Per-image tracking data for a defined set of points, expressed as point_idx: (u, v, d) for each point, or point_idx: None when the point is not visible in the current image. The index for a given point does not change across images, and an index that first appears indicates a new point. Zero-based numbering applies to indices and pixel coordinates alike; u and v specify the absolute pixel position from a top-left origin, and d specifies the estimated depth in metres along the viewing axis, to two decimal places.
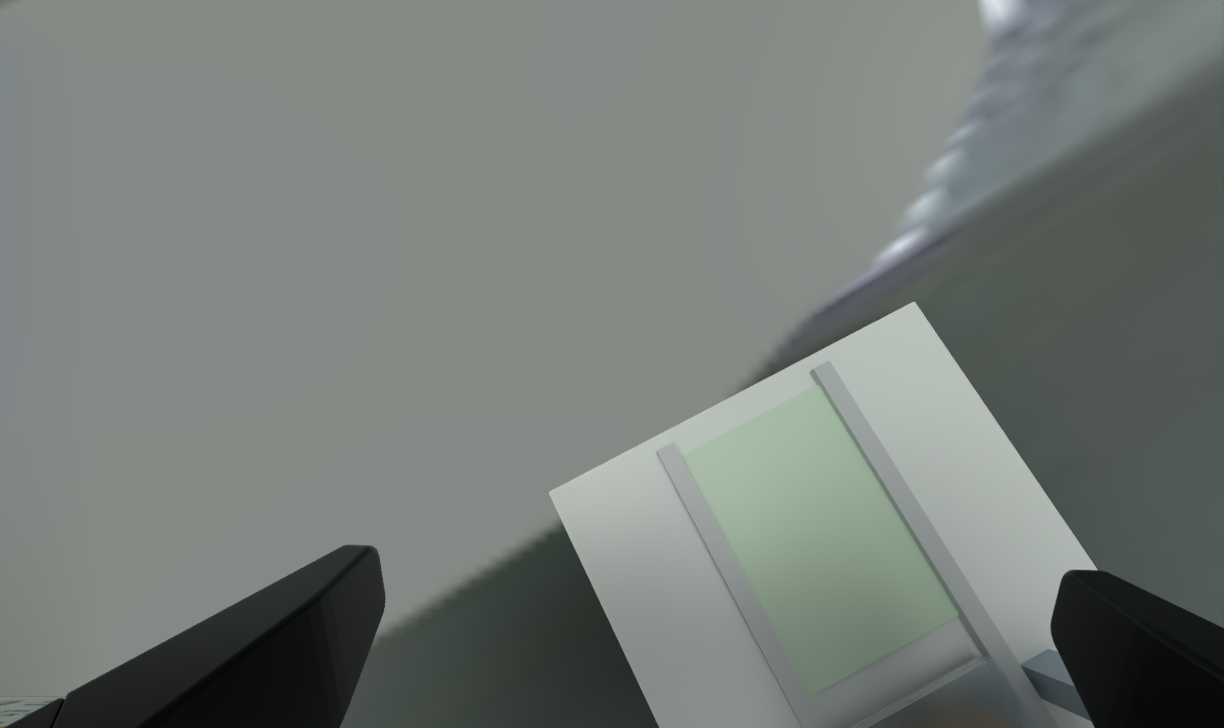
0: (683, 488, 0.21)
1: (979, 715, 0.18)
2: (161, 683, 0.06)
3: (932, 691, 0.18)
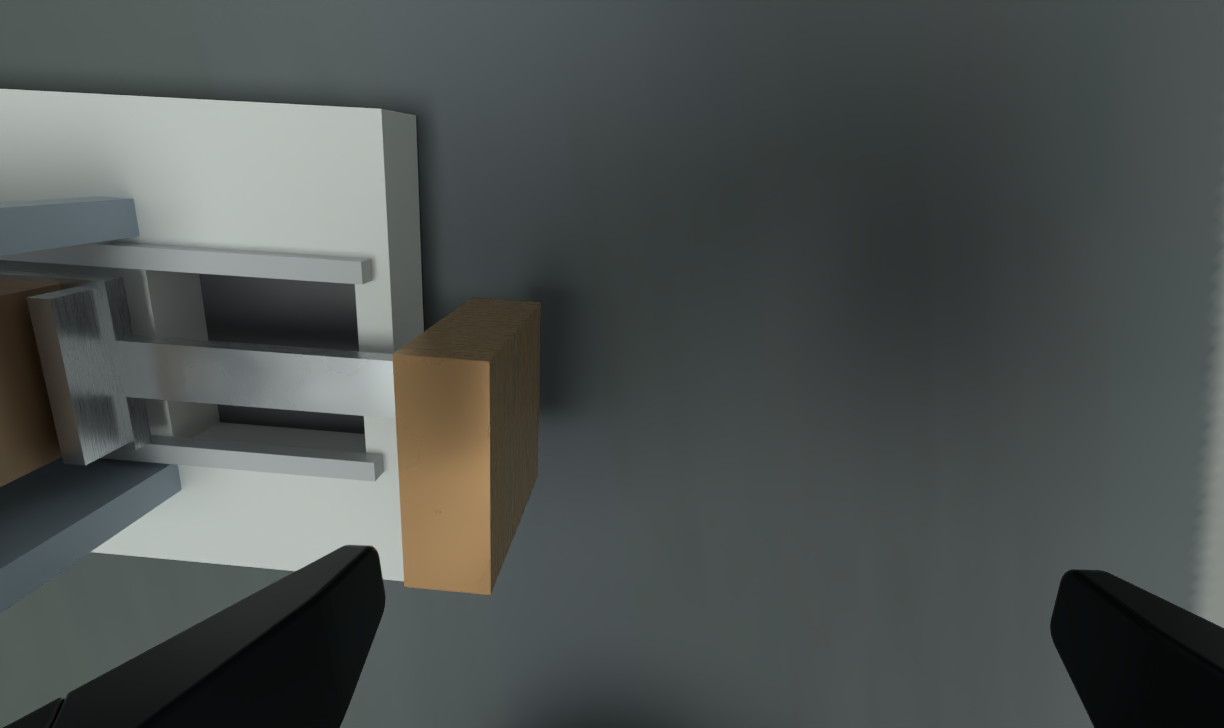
0: None
1: None
2: (161, 683, 0.06)
3: None
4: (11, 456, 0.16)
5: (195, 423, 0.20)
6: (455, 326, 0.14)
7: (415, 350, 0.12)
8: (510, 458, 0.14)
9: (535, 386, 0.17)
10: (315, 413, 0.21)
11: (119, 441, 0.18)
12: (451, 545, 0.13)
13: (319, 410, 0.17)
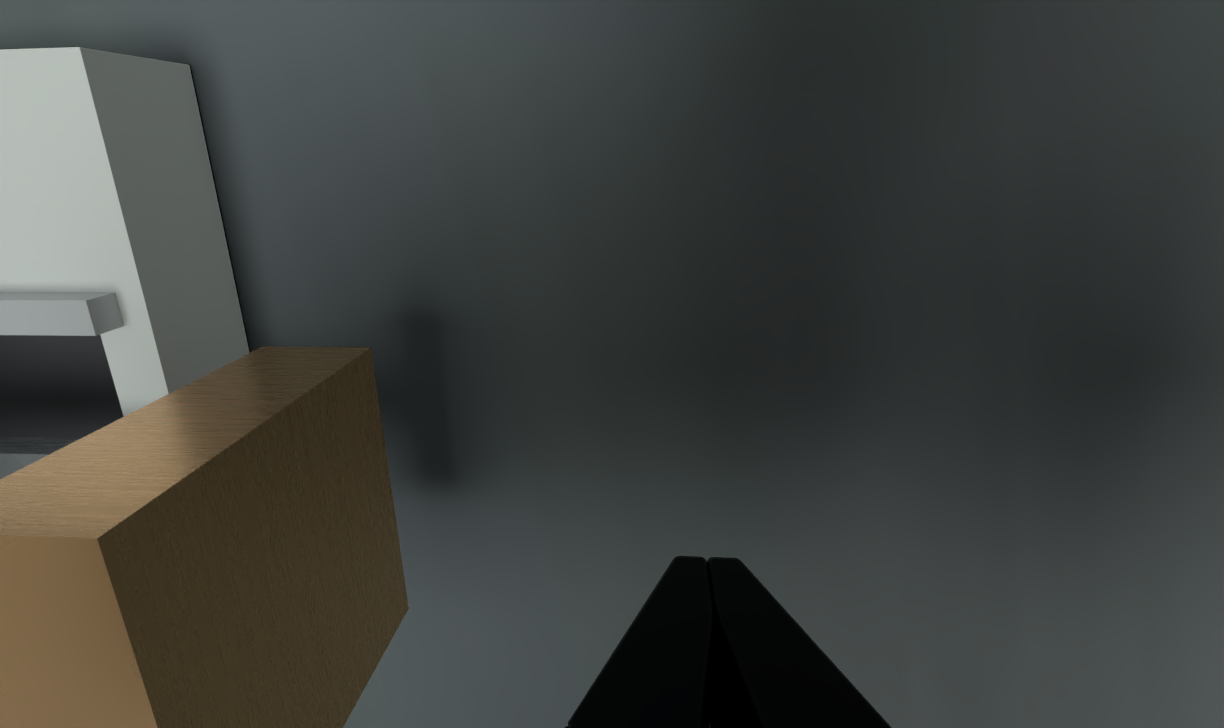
0: None
1: None
2: (661, 710, 0.05)
3: None
4: None
5: None
6: (150, 423, 0.07)
7: None
8: (280, 650, 0.08)
9: (373, 483, 0.10)
10: None
11: None
12: None
13: None
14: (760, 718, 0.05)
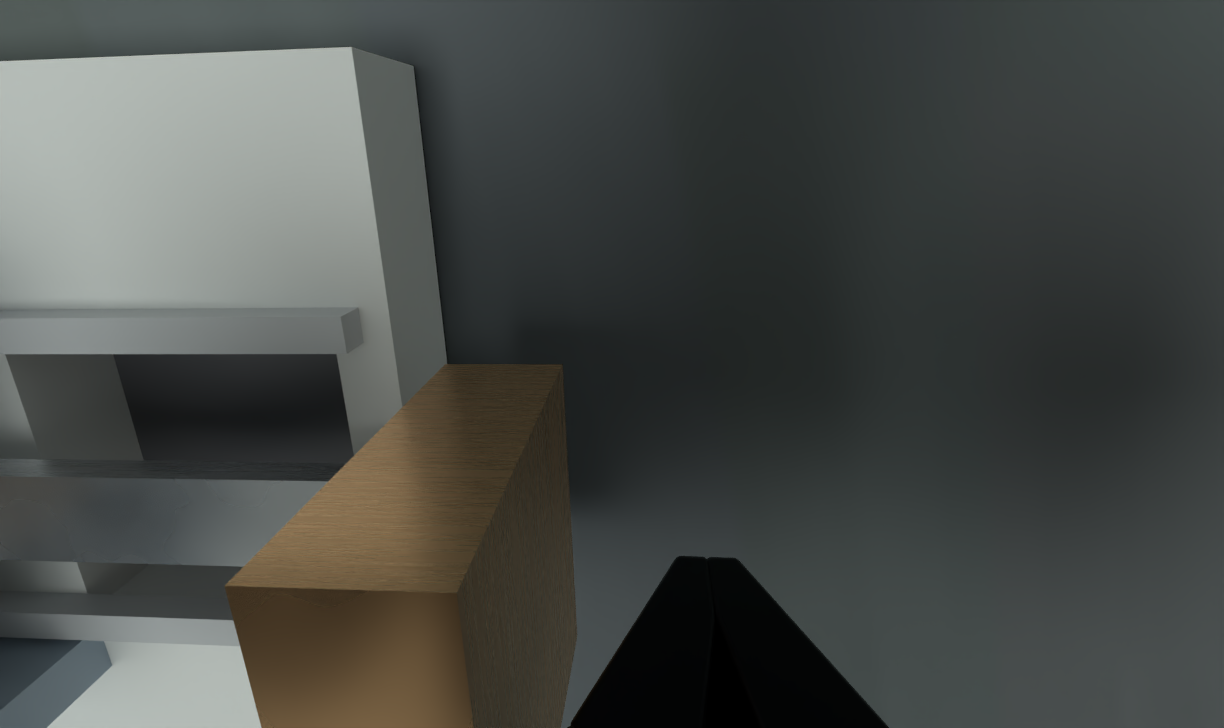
0: None
1: None
2: (664, 710, 0.05)
3: None
4: None
5: None
6: (400, 452, 0.07)
7: (287, 560, 0.05)
8: (529, 694, 0.07)
9: (564, 508, 0.10)
10: None
11: None
12: None
13: (214, 562, 0.11)
14: (757, 718, 0.05)
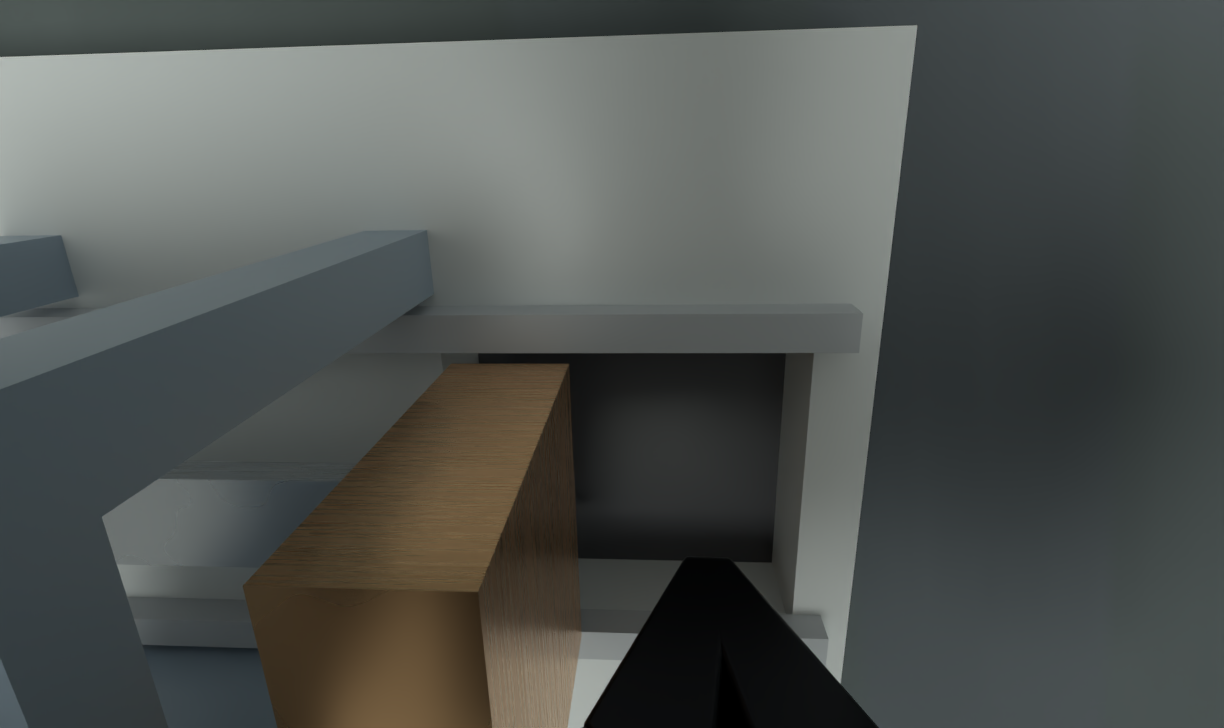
0: None
1: None
2: (677, 710, 0.05)
3: None
4: None
5: None
6: (411, 452, 0.07)
7: (304, 560, 0.05)
8: (540, 694, 0.07)
9: (570, 507, 0.10)
10: (648, 536, 0.14)
11: None
12: None
13: (217, 563, 0.11)
14: (747, 718, 0.05)
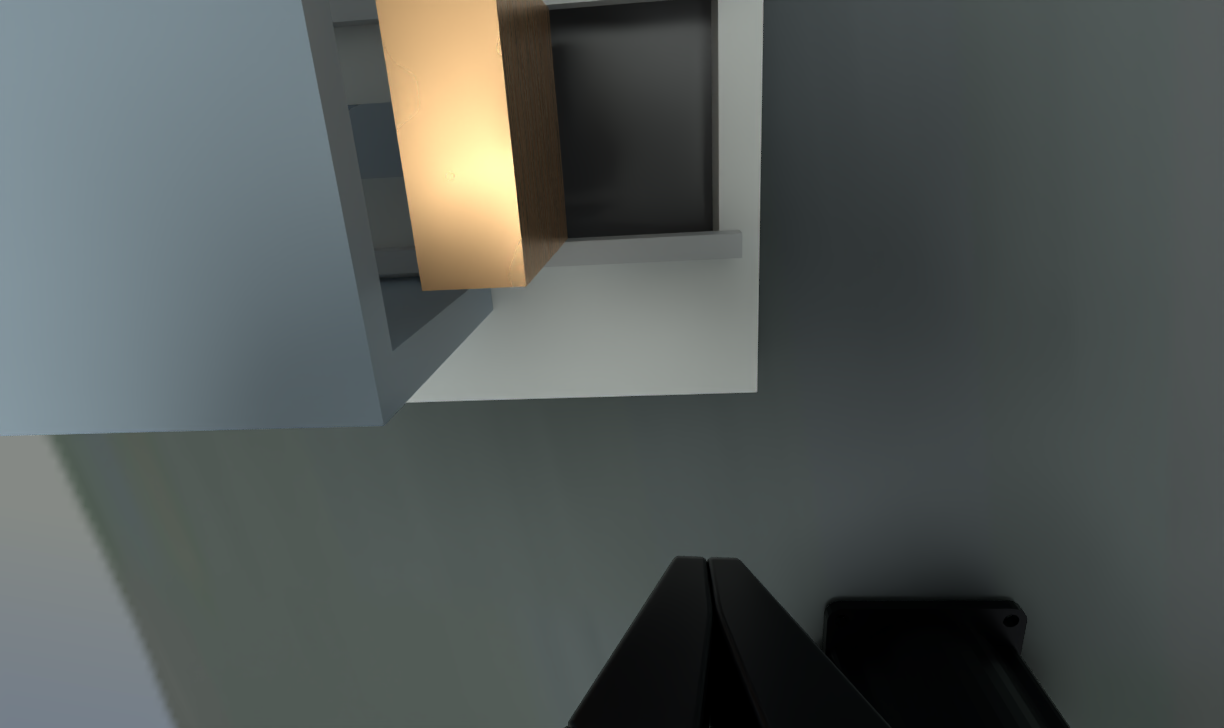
0: None
1: None
2: (661, 710, 0.05)
3: None
4: None
5: None
6: None
7: None
8: (532, 145, 0.12)
9: (553, 110, 0.14)
10: (618, 218, 0.18)
11: None
12: (471, 223, 0.11)
13: None
14: (760, 718, 0.05)
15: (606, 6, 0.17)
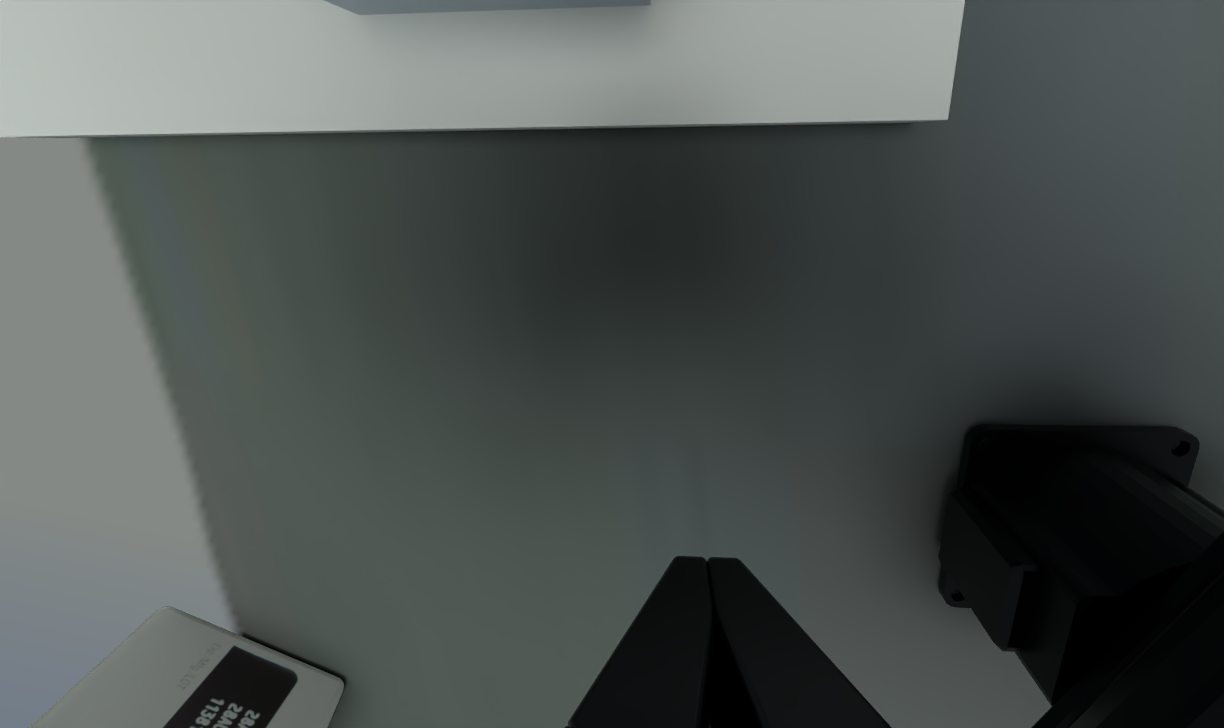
0: None
1: None
2: (661, 709, 0.05)
3: None
4: None
5: None
6: None
7: None
8: None
9: None
10: None
11: None
12: None
13: None
14: (760, 718, 0.05)
15: None
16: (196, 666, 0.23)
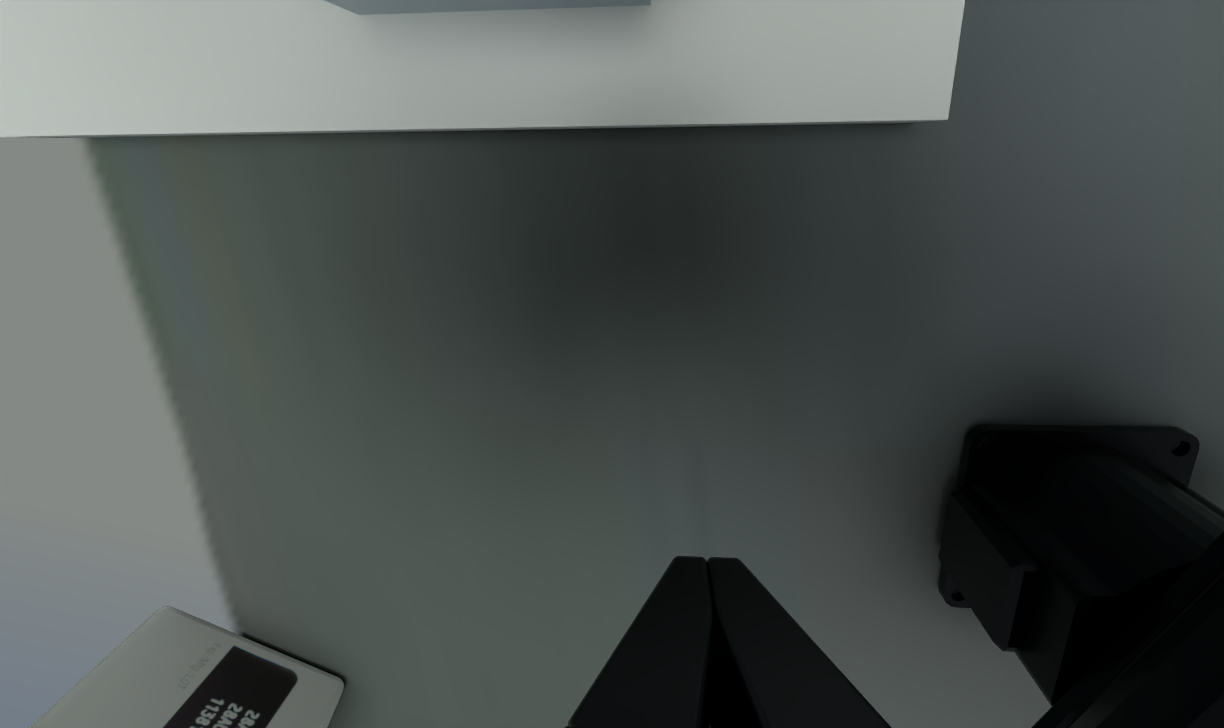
0: None
1: None
2: (661, 710, 0.05)
3: None
4: None
5: None
6: None
7: None
8: None
9: None
10: None
11: None
12: None
13: None
14: (760, 718, 0.05)
15: None
16: (196, 666, 0.23)
